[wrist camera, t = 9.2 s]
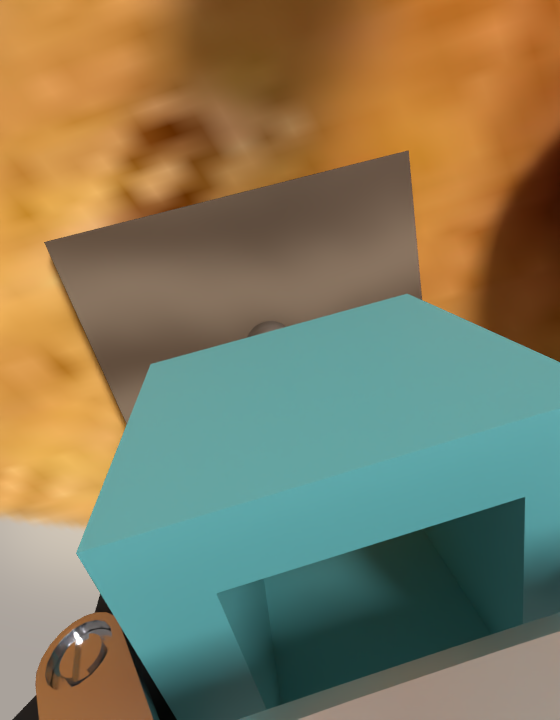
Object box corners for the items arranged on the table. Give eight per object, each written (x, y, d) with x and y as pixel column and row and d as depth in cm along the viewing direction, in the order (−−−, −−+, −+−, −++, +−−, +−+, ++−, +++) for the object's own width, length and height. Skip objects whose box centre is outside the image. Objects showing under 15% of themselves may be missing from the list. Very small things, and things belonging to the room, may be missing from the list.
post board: (53, 240, 17) (-43, 260, 11) (398, 153, 18) (500, 124, 12) (162, 486, 23) (142, 597, 16) (424, 409, 24) (503, 486, 17)
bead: (150, 364, 10) (76, 553, 5) (407, 293, 11) (621, 389, 5) (226, 555, 13) (236, 818, 7) (428, 493, 13) (582, 698, 8)
